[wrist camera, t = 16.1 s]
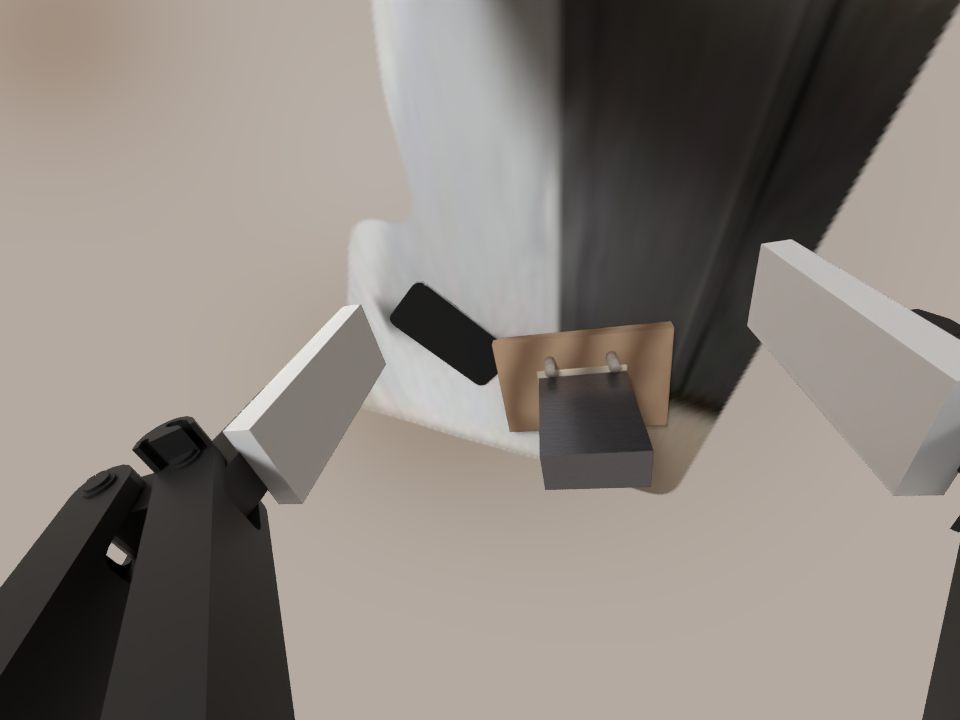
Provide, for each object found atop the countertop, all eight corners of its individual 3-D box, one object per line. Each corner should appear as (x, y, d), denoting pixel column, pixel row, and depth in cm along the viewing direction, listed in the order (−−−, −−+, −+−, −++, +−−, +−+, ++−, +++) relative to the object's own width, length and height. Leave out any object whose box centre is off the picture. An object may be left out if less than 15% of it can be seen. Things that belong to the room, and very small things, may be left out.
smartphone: (481, 388, 51) (386, 320, 48) (482, 385, 52) (388, 318, 48) (517, 354, 48) (417, 278, 44) (517, 351, 48) (419, 276, 44)
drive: (627, 370, 44) (653, 450, 34) (626, 404, 47) (650, 487, 37) (538, 378, 46) (539, 456, 36) (543, 410, 49) (545, 490, 39)
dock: (670, 321, 43) (680, 339, 40) (663, 416, 50) (671, 438, 47) (493, 339, 47) (489, 356, 44) (510, 424, 55) (508, 445, 51)
